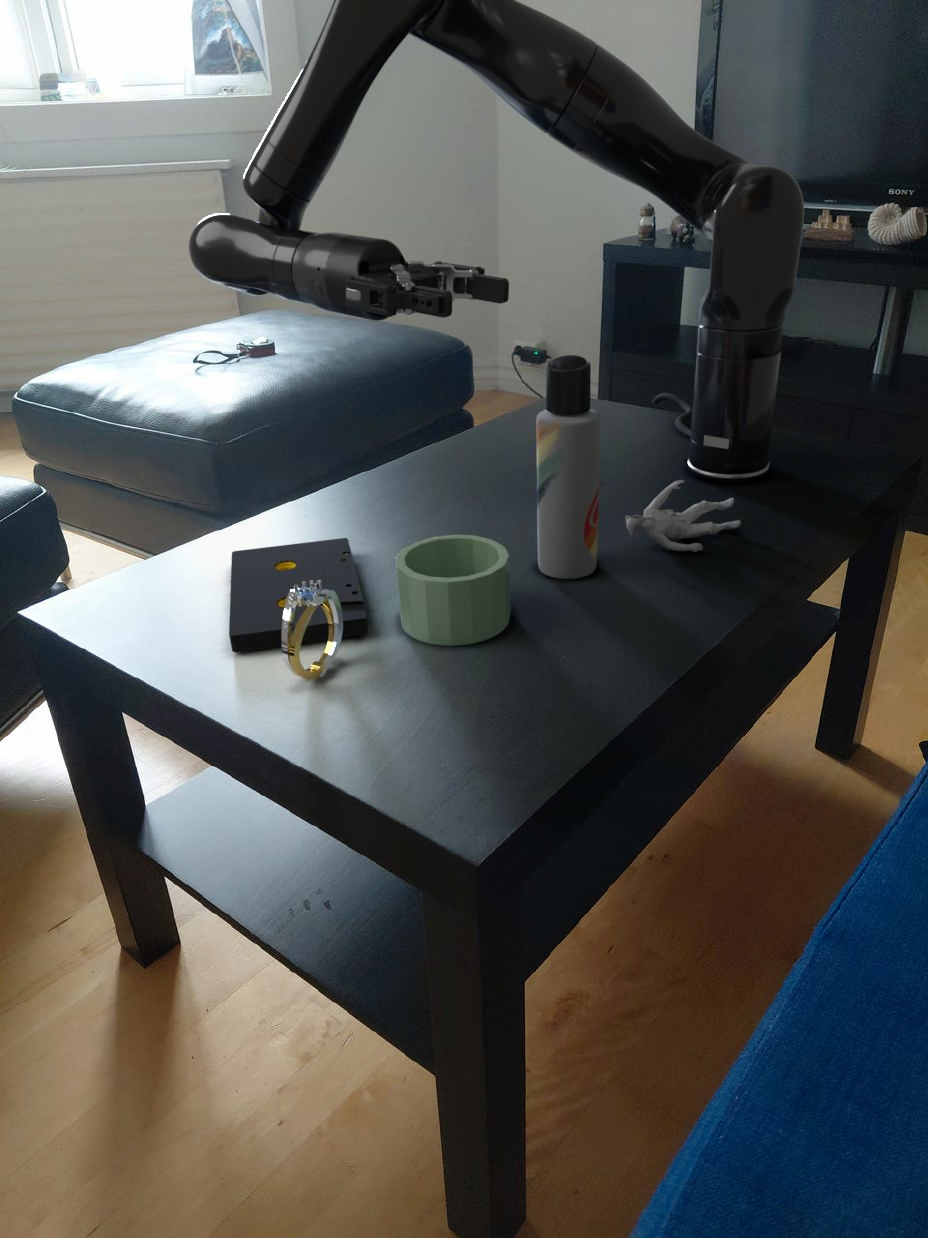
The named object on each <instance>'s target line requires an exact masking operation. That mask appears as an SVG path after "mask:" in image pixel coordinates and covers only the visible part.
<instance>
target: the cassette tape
mask: <svg viewBox="0 0 928 1238" xmlns="http://www.w3.org/2000/svg"><path fill="white" fill-rule="evenodd" d="M230 567H231V568H230V595H229V596H230V597H229V598H230V599H229V625H228V635H229V642H230V646H231V651H232V652H233V653H240V652H247V651H254V650H255V651H256V650H262V649H269V648H277V647H282V620H283V613H284V608H285V604H286V600H287V596H288V594H289V592H290V591H291V590H292V589H294V585H296V584H298V588H301V587H302V582H306V587H308V588H310V580H313V584H314V583H317V580H322V590H324V589H327V590H333V591H334V592H335V593H336V594H337V596H338V599H339V602H340V605H341V608H342V614H343V632H342V638H341V639H343V638H350V637H357V636H364V635H368V634H369V624H368V623H369V622H368V615H367V611H366V607H365V602H364V598H363V593H362V590H361V585H360V581H359V577H358V573H357V568H356V565H355V561H354V557H353V553H352V549H351V545H350V543H349V539H348V538H347V537H340V538H332V539H325V540H315V541H308V542H300V543H292V544H291V543H290V544H282V545H274V546H267V547H258V548H249V549H241V550H233V551H232V552H231V566H230ZM306 609H307V606H306V605H303V606H299V604H298V600H297V603H296V608H295V613H294V620H293V632H294V629H295V627H296V625H297V623H298V621H299V619H300V617H301V616H302V614H303V613H304V611H305V610H306ZM292 635H293V633H292ZM328 637H329V625H328V619H327V616H326V614H325V611H324V610H323V608H322V607H321V606H320V605H318V606H317V607H316V609H315V611H314V613H313V615H312V617H311V619H310V621H309V623H308V625H307V628H306V630H305V633H304V635H303V638H302V642H301V644H305V643H306V644H307V643H313V642H321V641H328Z"/></svg>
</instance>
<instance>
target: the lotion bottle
mask: <svg viewBox="0 0 928 1238" xmlns="http://www.w3.org/2000/svg"><path fill="white" fill-rule="evenodd" d="M591 366H592V365H591V361H587V359H586V358H585V357H583V356H580V355H573V354H568V355H567V354H566V355H561V356H558V357H555V358H554V359H552V360H549V361H547V362H546V376H545V377H546V379H545V380H546V384H545V385H546V386H545V388H546V391H545V392H546V393H545V398H546V399H545V409H544V410H541V411H539V413H538V414H537V415H536V429H535V431H536V516H537V517H536V521H537V523H536V525H537V527H536V528H537V529H536V531H537V535H536V537H537V565H538V568H539V571H540V572H541V573H543V574H544V575H545V576H548V577H550V578H554V579H561V580H575V579H581V578H584V577H587V576H589V575H591V574H593V572H595V570H596V568H597V563H598V562H597V561H598V541H599V540H598V538H599V537H598V536H599V497H600V495H599V494H600V493H599V489H600V451H601V450H600V448H601V447H600V445H601V416H600V414H599V412H598V411H597V410H596V409H593V408H591V379H592V377H591V370H592V369H591Z"/></svg>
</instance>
